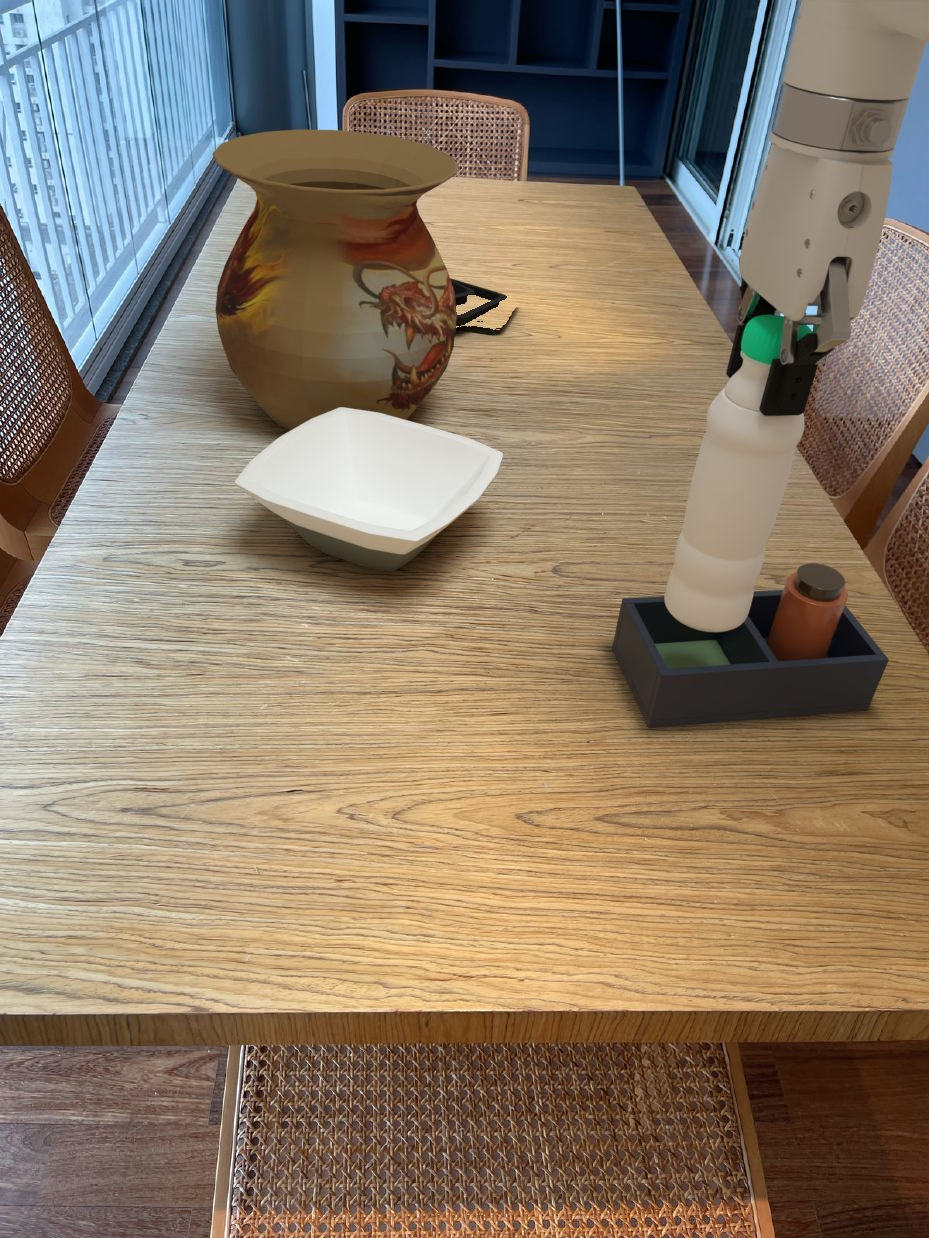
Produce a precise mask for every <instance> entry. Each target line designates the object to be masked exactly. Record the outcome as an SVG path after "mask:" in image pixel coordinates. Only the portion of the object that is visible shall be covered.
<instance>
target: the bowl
mask: <svg viewBox="0 0 929 1238" xmlns="http://www.w3.org/2000/svg"><path fill="white" fill-rule="evenodd" d="M503 458H504V452H502V451H500V450H498V449H495V448H493V447H490V446H488V445H487V444H484V443H481V442H479V441H477V440H476V439H473V438H470V437H466V436H463V435H460V434H456V433H453V432H450V431H446V430H443V429H440V428H436V427H432V426H429V425H426V424H422V423H418V422H415V421H411V420H408V419H407V420H404V419H400V418H397V417H393V416H389V415H386V414H382V413H378V412H371V411H364V410H358V409H351V408H345V407H339V408H337V409H334V410H332V411H329V412H327V413H324V414H322V415H320V416H317V417H315V418H312V419H310V420H308V421H307V422H305V423H303V424H301V425H300V426H298V427H296V428H294V429H293V430H291V431H290V430H288V431H287V432H286V433H284V434H282V435H281V436H278V437H277V438H275V440H273V441H272V442H271V443H270V444H269V445H267V446H266V447H265V448H264V449H262V451H260V452H259V453H258V454H257V455H256V456H255V457H253V458H252V459H251V460H250V461H249V462H248V463H247V465H246V466H245V467H244V469H243V470H242V471H241V473H240V474H239V475H238V476H237V477H236V479H235V480H234V485H235V486H236V487H237V488H239V489H240V490H242V492H244V493H245V494H247V495H249V496H250V497H251V498H253V499H254V500H255V501H256V502H258V503H260V504H261V505H262V506H264V507H265V508H266V509H268V510H269V511H271V512H272V513H273V514H276V516H278V517H280V518H281V519H282V520H283V521H284V522H285V523H286V524H287V525H288V526H289V527H290V528H291V529H292V530H293V531H294V532H296V534H298V536H300V537H301V538H302V539H303V540H304V541H305V543H307V544H308V545H309V546H311V547H313V548H314V549H316V550H318V551H320V552H321V553H323V554H326V555H329V556H331V557H334V558H337V559H340V560H343V561H346V562H349V563H352V564H355V565H358V566H360V567H364V568H367V569H370V570H374V571H381V572H386V573H393V572H395V571H397V570H398V569H400V568H402V567H403V566H405V565H407V564H408V563H410V562H411V561H412V560H413V559H415V558H416V556H419V554H420V553H421V552H423V551H424V550H425V548H426V547H427V546H428V545H429V544H430V543H431V542H432V541H433V540H434V539H435V538H436V537H437V535H439V534H440V533H441V532H442V531H443V530H444V529H445V528H448V526H449V525H451V524H452V523H453V522H454V521H456V519H458V518H459V517H460V516H462V515H463V514H464V513H465V512H466V511H468V510H469V509H470V508H471V507H472V506H474V505H475V504H476V503H477V502H478V501H479V500H480V499H481V498H482V496H483V495H484V493H485V492H486V490H487V489H488V488H489V486H490V485H491V484H492V483H493V481H494V480H495V478H496V477H497V475H498V472H499V469H500V467H501V464H502V462H503Z"/></svg>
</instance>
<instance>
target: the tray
mask: <svg viewBox="0 0 929 1238" xmlns="http://www.w3.org/2000/svg"><path fill="white" fill-rule="evenodd" d="M450 280H451V283H452V286H453V288H454V293H455V302H456V306H457V305H461V304H465V303H466V302H467V296H468V295H476V296H479V297H481V298H485V299H488V300H491V301H490V302H487V303H485V304H483V305H481V306H479V307H477V308H475V309H472V310H470V311H468V312H466V313H464V314H461V315H456V326H459V327H457V328H456V330H458V331H463V332H468V333H476V334H482V335H488V336H494V335H495V336H496V335H498V334H500V332H501V331H502V329H503V328H496V329H501V330H496V329H495V330H493V329H490V328H483V327H477V326H471V327H470V326H468V327H467V326H461V325H465V324H466V323H468V322H470V321H472V320H473V319H476V318H477V317H479V316H480V315H483V314H485V313H486V312H488V311H489V310H491V309H493V308H496V307H498V305H499V302H500V301H502V300H505V299H506V298H507V296H506V295H507V294H504V293H502V292H497V291H495V290H491V289H488V288H484V287H481V286H477V285H475V284H471V283H468V282H465V281H461V280H457V279H455V278H451V277H450ZM477 322H480V321H477ZM481 322H483V321H481ZM460 326H461V327H460Z"/></svg>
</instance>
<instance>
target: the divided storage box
mask: <svg viewBox="0 0 929 1238" xmlns="http://www.w3.org/2000/svg"><path fill="white" fill-rule="evenodd" d="M782 592H783V589H771V590H769V589H768V590H754V594H753V599H752V603H751V607H750V610H749V613H748V616H747V618H746V620H745V621H744V622H743V623H742V624H741V625H740V626H738V627H736V628H734V629H732V630H729V631H724V632H706V631H701V630H697V629H694V628H691V627H689V626H686V625H684V624H683V623H681V622H680V621H678V620H677V619H676V618H675V617H673V616H672V614H671V613H670V612H669V611H668V609H667V607H666V605H665V601H664V595H660V596H658V595H657V596H643V597H641V596H640V597H624V598H622V599H621V602H620V608H619V613H618V617H617V623H616V626H615V627H616V628H615V633H614V637H613V643H612V647H611V651H612V653H613V655H614V657H615V660H616V661H617V662H616V663H617V664H618V666H619V668H620V671H621V673H622V675H623V676H624V679H625V680H626V684H627V685H628V687H629V690H630V691H631V694H632V696H633V698H634V700H635V703H636V704H637V706H638V709H639V710H640V713H641V715H642V718H643V719H644V721H645V724H646V726H647V728H648V729H657V728H658V729H660V728H671V727H685V726H697V725H707V724H708V725H709V724H721V723H733V722H747V721H758V720H770V719H772V720H773V719H784V718H797V717H809V716H810V717H811V716H822V715H834V714H835V715H836V714H846V713H847V714H848V713H859V712H868V711H869V708H870V706H871V703H872V701H873V700H874V699H873V698H874V696H875V694H876V691H877V689H878V687H879V685H880V683H881V680H882V677H883V675H884V673H885V670H886V668H887V666H888V663H889V661H890V659H889V658H888V656H887V655H886V654H885V653H884V652H883V650H882V649H881V648H880V646H879V645H878V644H877V643H876V642H875V640H874V639H873V637H872V636H871V635H870V634H869V632H867V630H866V629H865V628H864V626H863V625H862V624H861V622H859V620H858V619H857V618H856V616H855V615H854V614H853V613H852V611H851V610H850V609H849V607H848V606H847V604H845V607H844V610H843V612H842V615H841V618H840V620H839V623H838V626H837V628H836V631H835V634H834V636H833V639H832V642H831V644H830V647H829V650H828V652H827V655H826V658H820V659H806V660H791V661H778V660H777V658H776V657H775V655H774V654H773V652H772V651H771V649H770V648H769V646H768V645H767V643H766V641H767V638H768V635H769V632H770V629H771V626H772V623H773V620H774V617H775V614H776V611H777V607H778V604H779V601H780V598H781V595H782Z"/></svg>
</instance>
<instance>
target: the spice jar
mask: <svg viewBox="0 0 929 1238" xmlns="http://www.w3.org/2000/svg"><path fill="white" fill-rule="evenodd" d="M845 585H846V578H845V577H844V576H843V574H842V573H840V571H838V570H837V569H835V568H833V567H831V566H829V565H826V564H821V563H816V562H814V563H811V562H809V563H805V564H801V565H800V566H798V567H797V570H796V572H793V573H791V574H790V575H788V576H787V578H786V580H785V583H784V586H783V589H782V590H783V592H782V595H781V598H780V601H779V604H778V607H777V611H776V614H775V617H774V620H773V623H772V626H771V629H770V632H769V635H768V638H767V641H766V643H767V645H768V646H769V648H770V649H771V651H772V652H773V654H774V655H775V657H776V658H777V660H778V661H791V660H806V659H820V658H826V655H827V652H828V650H829V647H830V644H831V642H832V639H833V636H834V634H835V631H836V628H837V626H838V623H839V620H840V618H841V615H842V612H843V610H844V607H845V605H847V602H848V599H849V592H848V590H847V588H846V586H845Z"/></svg>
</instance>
